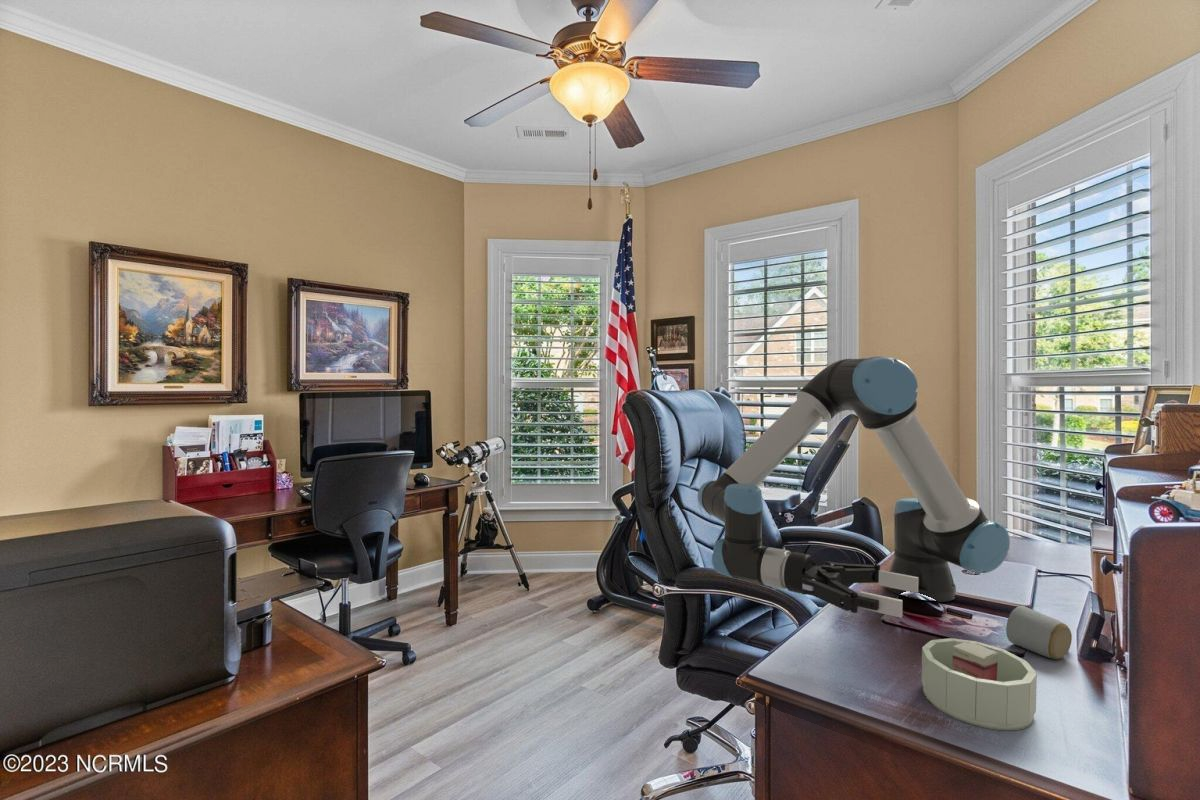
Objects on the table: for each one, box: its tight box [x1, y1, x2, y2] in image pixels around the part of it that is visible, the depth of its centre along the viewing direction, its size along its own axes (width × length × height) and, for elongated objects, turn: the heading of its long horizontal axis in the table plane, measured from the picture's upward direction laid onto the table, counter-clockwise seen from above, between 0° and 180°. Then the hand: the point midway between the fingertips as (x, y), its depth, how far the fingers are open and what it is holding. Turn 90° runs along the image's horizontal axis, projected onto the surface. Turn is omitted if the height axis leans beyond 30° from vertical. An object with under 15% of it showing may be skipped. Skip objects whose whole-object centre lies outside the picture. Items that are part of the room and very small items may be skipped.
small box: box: [952, 640, 998, 681], centre depth 92 cm, size 5×4×8 cm
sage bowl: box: [921, 637, 1038, 732], centre depth 92 cm, size 15×15×7 cm
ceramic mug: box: [1005, 605, 1073, 660], centre depth 110 cm, size 11×8×8 cm
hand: (910, 596), depth 98 cm, fingers open, 13 cm apart
